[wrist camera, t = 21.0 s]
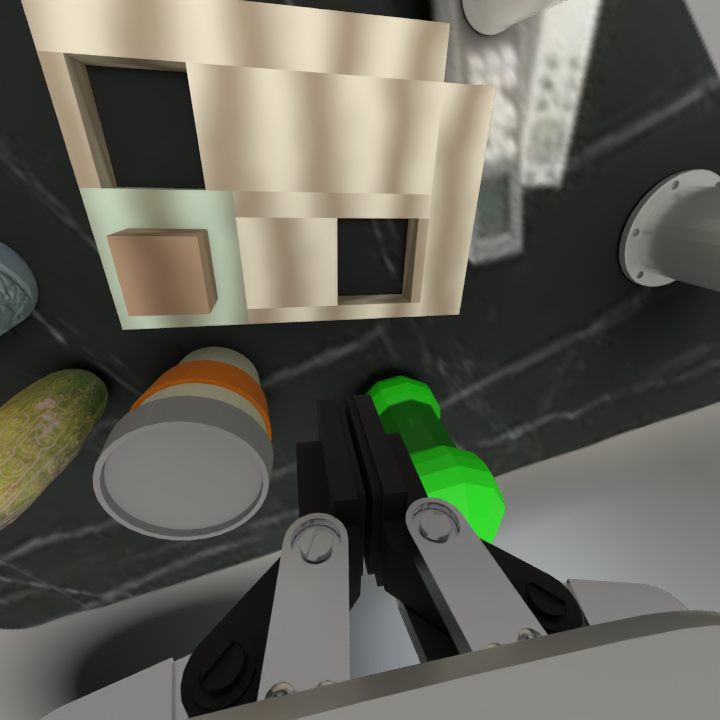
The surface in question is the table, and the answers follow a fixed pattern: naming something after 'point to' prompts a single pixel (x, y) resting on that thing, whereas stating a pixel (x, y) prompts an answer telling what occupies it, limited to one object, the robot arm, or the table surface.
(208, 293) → the block
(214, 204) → the board
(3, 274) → the drinking glass
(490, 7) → the drinking glass
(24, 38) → the table surface
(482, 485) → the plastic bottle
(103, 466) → the reusable coffee cup
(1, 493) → the vegetable
